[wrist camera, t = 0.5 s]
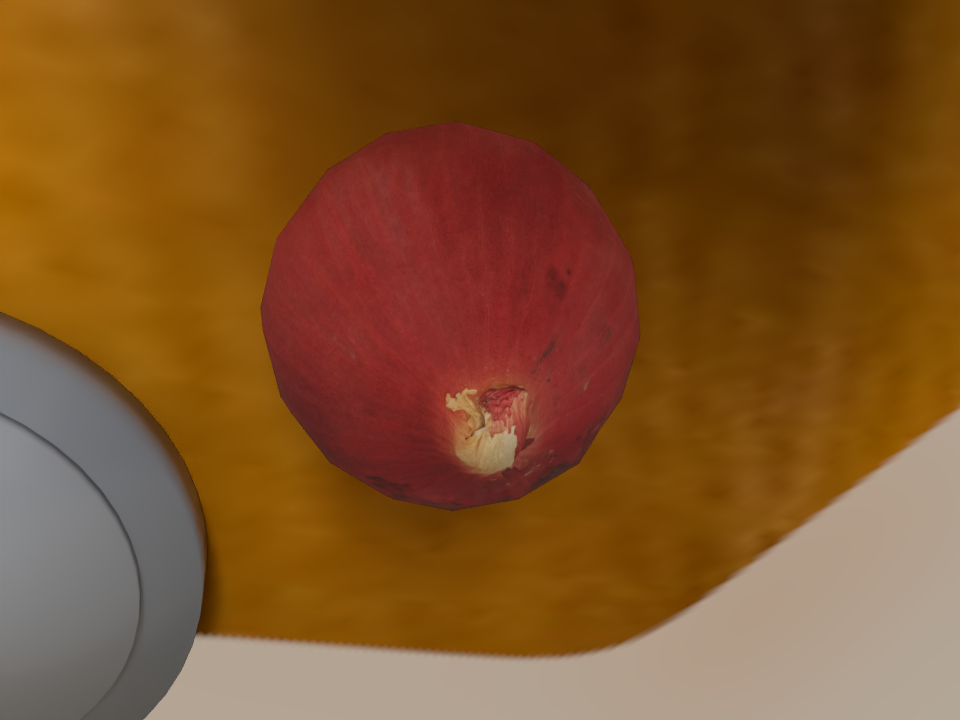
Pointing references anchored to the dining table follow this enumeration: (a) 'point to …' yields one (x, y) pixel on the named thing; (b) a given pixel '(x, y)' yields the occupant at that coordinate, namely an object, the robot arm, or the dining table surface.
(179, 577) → the plate
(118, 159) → the dining table surface
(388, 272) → the onion
